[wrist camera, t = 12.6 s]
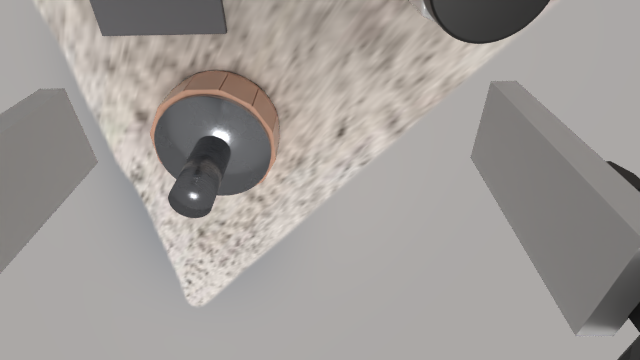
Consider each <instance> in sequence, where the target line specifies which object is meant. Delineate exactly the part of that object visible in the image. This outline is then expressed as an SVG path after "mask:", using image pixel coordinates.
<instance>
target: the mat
mask: <svg viewBox="0 0 640 360" xmlns="http://www.w3.org/2000/svg"><path fill="white" fill-rule="evenodd" d="M90 3H91V5H92V8H93V11H94V14H95V16H96V19H97V22H98V25H99V28H100V30H101V33H102V36H130V35H183V34H226V33H227V28H226V22H225V16H224V9H223V3H222V0H90Z"/></svg>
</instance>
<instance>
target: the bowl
mask: <svg viewBox="0 0 640 360" xmlns="http://www.w3.org/2000/svg"><path fill="white" fill-rule="evenodd" d="M196 94H213V95H219V96H223V97H226V98H229V99H232V100H234V101H236V102H238V103H240V104H242V105H243V106H245V107H246V108H248V109H249V110H250V111H251V112H252V113H254V114H255V115H256V116H257V118H258V119H259V120H260V121H261V122H262V124H263V125H264V127H265V129H266V131H267V133H268V135H269V138H270V142H271V152H272V153H271V160H270V164H269V168H268V170H267V172H266V174H265V176H264V177H263V179H262V180H261V181H260V182H259V183H261V182H263V181H264V179H265V177H266V176H267V174H268V172H269V171H270V169H271V167H272V165H273V164H274V162H275V160H276V155H277V150H278V144H279V139H280V138H279V120H278V115H277V112H276V109H275V107H274V105H273V103H272V102H271V100H270V99H269V97H268V96H267V95H266V94H265V92H264V91H263V90H262V89H261V88H260V87H258V86H257V85H256V84H254V83H253V82H252V81H250V80H248V79H246V78H245V77H242V76H240V75H238V74H234V73H231V72H226V71H205V72H200V73H197V74H195V75H192V76H190V77H189V78H187V79H186V80H184V81H183V82H182V83H181V84H180V85H178V86H177V87H175V88H174V89H173V90H172V91H171V92H170V93H169V95H168V96H167V97H166V98H165V99H164V101H163V102H162V103H161V104H160V106H159V107H158V109H157V112H156V115H155V119H154V122H153V125H152V128H151V131H150V136H151V139H152V141H153V144H154V147H155V143H154V133H155V128H156V125H157V122H158V120H159V119H160V117H161V116H162V114H163V113H164V112H165V110H166V109H167V108H168V107H169V106H170V105H172V104H173V103H174V102H176V101H178V100H179V99H181V98H184V97H187V96H191V95H196ZM155 150H156V148H155ZM156 153H157V152H156ZM157 156H158V154H157ZM158 159H159V157H158ZM159 161H160V159H159ZM160 162H161V161H160ZM161 163H162V162H161ZM259 183H258V184H259ZM256 185H257V184H256ZM238 194H239V193H238Z"/></svg>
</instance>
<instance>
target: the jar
mask: <svg viewBox="0 0 640 360" xmlns="http://www.w3.org/2000/svg"><path fill="white" fill-rule="evenodd" d="M408 1H409V2H410V3H411V4H412V5H413V6H414V7H415V8H416V9H417V11H418V12H419V13H420V14H421V15H422V16H423V17H426V18H428V19H430V20H432V21H435V22H437V23H438V25H439V26H440V27H441V28H442V29H443V30H444V31H445V32H447V33H448V34H449V35H451V36H452V37H454V38H456V39H458V40H460V41H463V42H467V43H474V44H484V43H491V42H496V41H499V40H502V39H504V38H507V37H509V36H511V35H513V34H515V33H517V32H518V31H520V30H521V29H523V28H524V27H526V26H527V25H528V24H529V23H530V22H532V21H533V20H534V19H535V18H536V17H537V16H538V15H539V14H540V13H541V11H542V10H543V9H544V8H545V7H546V5H547V4H548V2H549V1H550V0H408Z"/></svg>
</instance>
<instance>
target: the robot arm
mask: <svg viewBox="0 0 640 360" xmlns="http://www.w3.org/2000/svg"><path fill="white" fill-rule="evenodd" d="M471 159H472V161H473V163H474V164H475V166H476V168H477V169H478V171H479V173H480V174H481V176H482V178H483V180H484V181H485V183H486V185H487V186H488V188H489V190H490V191H491V193H492V195H493V197H494V198H495V200H496V201H497V203H498V205H499V207H500V208H501V210H502V212H503V214H504V215H505V217H506V219H507V220H508V222H509V224H510V225H511V227H512V229H513V230H514V232H515V234H516V236H517V237H518V239H519V240H520V242H521V244H522V246H523V247H524V249H525V251H526V252H527V254H528V256H529V258H530V259H531V261H532V263H533V264H534V266H535V268H536V270H537V271H538V273H539V275H540V276H541V278H542V280H543V281H544V283H545V285H546V287H547V288H548V290H549V292H550V293H551V295H552V297H553V298H554V300H555V302H556V304H557V305H558V307H559V308H560V310H561V312H562V314H563V315H564V317H565V319H566V320H567V322H568V324H569V326H570V327H571V329H572V331H573V332H574V334H575V336H614V335H615V334H616V332H617V331H618V330H619V329H620V328H621V327H622V325H623V324H624V323H625V321H626V320H627V319H628V318H629V319H630V320H631V321H632V323H633V324H634V326H635V327H636V328H637V329H638V331H639V332H640V179H639V178H638V177H637V176H636V175H634V174H633V173H632V172H630V171H628V170H626V169H624V168H622V167H620V166H618V165H617V164H615V163H612V162H611V161H605V160H603V159H602V158H601V157H600V156H599V155H598V154H597V153H596V152H595V151H593V150H592V149H591V148H590V147H589V146H588V145H587V144H586V143H585V142H583V141H582V140H581V139H580V138H579V137H578V136H577V135H576V134H575V133H573V132H572V131H571V130H570V129H569V128H568V127H567V126H566V125H565V124H563V123H562V122H561V121H560V120H559V119H558V118H557V117H556V116H555V115H554V114H552V113H551V112H550V111H549V110H548V109H547V108H546V107H545V106H544V105H542V104H541V103H540V102H539V101H538V100H537V99H536V98H535V97H533V96H532V95H531V94H530V93H529V92H528V91H527V90H526V89H525V88H524V87H522V86H521V85H520V84H519V83H518V82H517V81H491V84H490V87H489V91H488V94H487V98H486V102H485V105H484V109H483V113H482V117H481V120H480V124H479V128H478V132H477V136H476V139H475V143H474V146H473V150H472V154H471ZM97 163H98V161H97V159H96V157H95V154H94V152H93V150H92V148H91V146H90V144H89V141H88V139H87V137H86V135H85V133H84V131H83V128H82V126H81V124H80V122H79V120H78V117H77V115H76V113H75V111H74V109H73V106H72V104H71V102H70V100H69V98H68V95H67V93H66V91H65V89H39V90H37V91H36V92H34V93H33V94H31V95H30V96H28V97H27V98H25V99H23V100H22V101H20V102H19V103H17V104H16V105H14V106H13V107H11V108H9V109H8V110H6V111H5V112H4V113H2V114H0V273H1V272H2V271H3V270H4V269H5V268H6V266H7V265H8V264H9V263H10V262H11V261H12V260H13V259H14V258H15V256H16V255H17V254H18V253H19V252H20V251H21V250H22V248H23V247H24V246H25V245H26V244H27V243H28V242H29V240H30V239H31V238H32V237H33V236H34V235H35V234H36V232H37V231H38V230H39V229H40V228H41V227H42V226H43V224H44V223H45V222H46V221H47V220H48V219H49V218H50V217H51V215H52V214H53V213H54V212H55V211H56V210H57V208H58V207H59V206H60V205H61V204H62V203H63V202H64V201H65V199H66V198H67V197H68V196H69V195H70V194H71V193H72V192H73V190H74V189H75V188H76V187H77V186H78V185H79V184H80V182H81V181H82V180H83V179H84V178H85V177H86V176H87V174H88V173H89V172H90V171H91V170H92V169H93V168H94V167H95V165H96V164H97ZM618 360H640V335H639V336H638V337H637V339H636V340H635V341H634V342H633V343H632V344H631V345H630V346H629V347H628V348H627V350H626V351H625V352H624V353H623V354H622V355H621V356H620V357H619V359H618Z"/></svg>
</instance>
